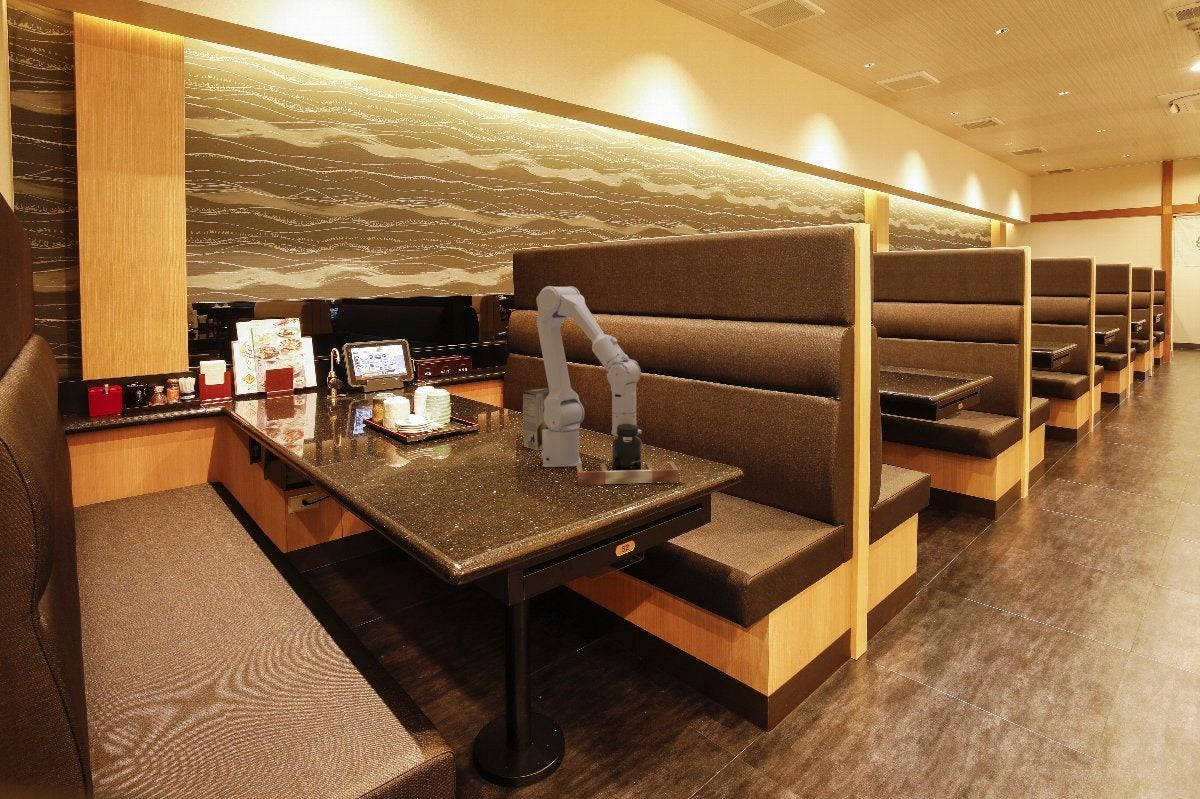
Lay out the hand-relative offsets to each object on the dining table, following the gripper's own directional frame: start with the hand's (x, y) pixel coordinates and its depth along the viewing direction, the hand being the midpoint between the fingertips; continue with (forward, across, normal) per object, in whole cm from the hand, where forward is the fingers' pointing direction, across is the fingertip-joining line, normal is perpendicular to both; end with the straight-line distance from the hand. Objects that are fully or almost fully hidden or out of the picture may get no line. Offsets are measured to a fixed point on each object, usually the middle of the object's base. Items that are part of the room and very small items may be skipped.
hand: (624, 468), depth 164 cm
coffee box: (+1, +31, +20) cm, 37 cm away
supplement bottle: (+1, -4, 0) cm, 4 cm away
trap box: (+1, -6, 0) cm, 6 cm away
